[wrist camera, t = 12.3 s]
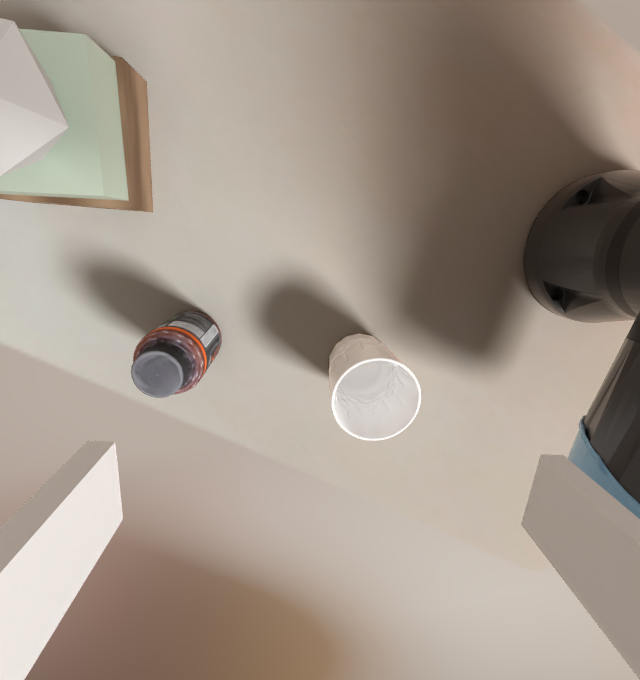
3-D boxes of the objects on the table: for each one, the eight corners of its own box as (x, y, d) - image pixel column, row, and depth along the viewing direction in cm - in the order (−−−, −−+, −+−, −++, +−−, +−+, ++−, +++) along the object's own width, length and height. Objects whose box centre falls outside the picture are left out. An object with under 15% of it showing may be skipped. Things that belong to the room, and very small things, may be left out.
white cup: (371, 403, 42) (393, 453, 33) (311, 377, 41) (315, 421, 32) (405, 345, 41) (437, 380, 31) (343, 316, 39) (357, 343, 30)
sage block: (115, 61, 28) (85, 33, 24) (128, 200, 30) (104, 196, 27) (-24, 50, 27) (-77, 20, 23) (4, 194, 30) (-40, 188, 26)
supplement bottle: (203, 372, 40) (169, 424, 29) (156, 341, 39) (101, 383, 28) (234, 331, 39) (209, 368, 28) (186, 298, 38) (141, 324, 27)
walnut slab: (147, 83, 32) (121, 57, 28) (154, 212, 36) (131, 209, 31) (17, 69, 32) (-33, 39, 27) (36, 202, 35) (-6, 198, 30)
